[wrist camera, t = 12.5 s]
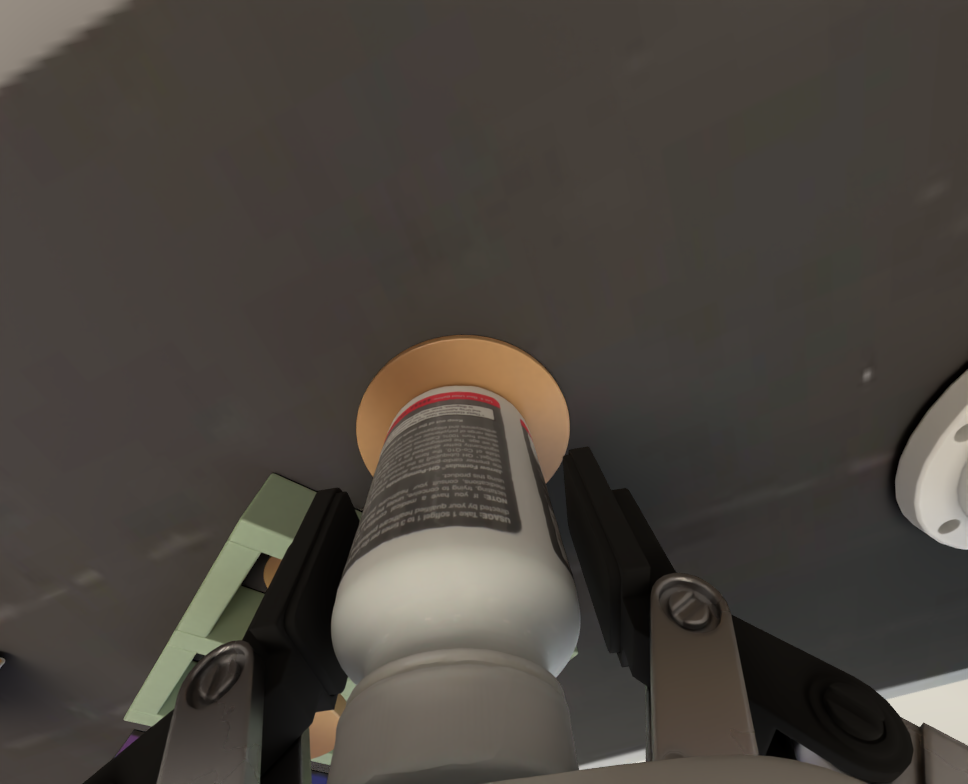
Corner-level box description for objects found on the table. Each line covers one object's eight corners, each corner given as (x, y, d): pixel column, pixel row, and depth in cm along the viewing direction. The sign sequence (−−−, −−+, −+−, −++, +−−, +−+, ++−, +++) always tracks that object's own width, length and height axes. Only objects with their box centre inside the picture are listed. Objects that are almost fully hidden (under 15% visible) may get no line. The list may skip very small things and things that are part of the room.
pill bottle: (362, 461, 14) (210, 857, 6) (436, 351, 13) (379, 694, 4) (478, 516, 16) (496, 891, 7) (559, 427, 14) (712, 788, 6)
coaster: (431, 287, 12) (430, 289, 12) (610, 409, 14) (614, 415, 14) (322, 457, 15) (318, 463, 14) (487, 536, 17) (488, 543, 17)
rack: (272, 471, 15) (239, 519, 13) (566, 602, 20) (579, 653, 17) (159, 663, 20) (122, 721, 18) (411, 730, 25) (406, 782, 23)
